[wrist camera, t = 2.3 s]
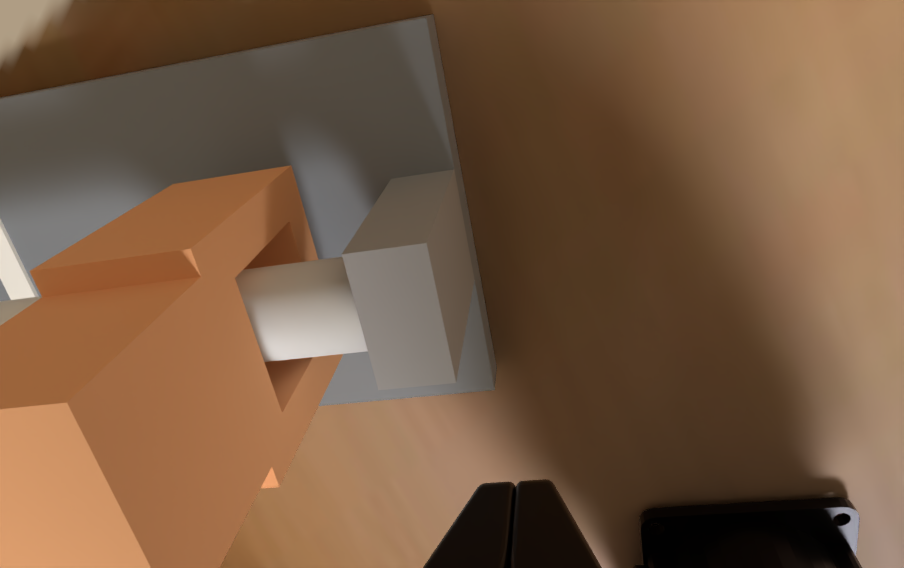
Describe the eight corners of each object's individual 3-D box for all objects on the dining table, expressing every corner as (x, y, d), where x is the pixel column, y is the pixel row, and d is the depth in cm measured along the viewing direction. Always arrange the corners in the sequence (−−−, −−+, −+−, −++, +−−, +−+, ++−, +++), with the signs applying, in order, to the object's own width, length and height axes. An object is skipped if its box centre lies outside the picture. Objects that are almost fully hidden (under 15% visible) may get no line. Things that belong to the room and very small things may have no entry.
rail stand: (433, 13, 16) (381, 38, 10) (496, 367, 20) (484, 521, 14) (-180, 132, 19) (-474, 200, 13) (-16, 416, 23) (-189, 558, 17)
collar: (291, 165, 15) (49, 366, 7) (344, 351, 17) (196, 657, 10) (172, 184, 16) (-168, 390, 8) (238, 362, 18) (17, 662, 10)
